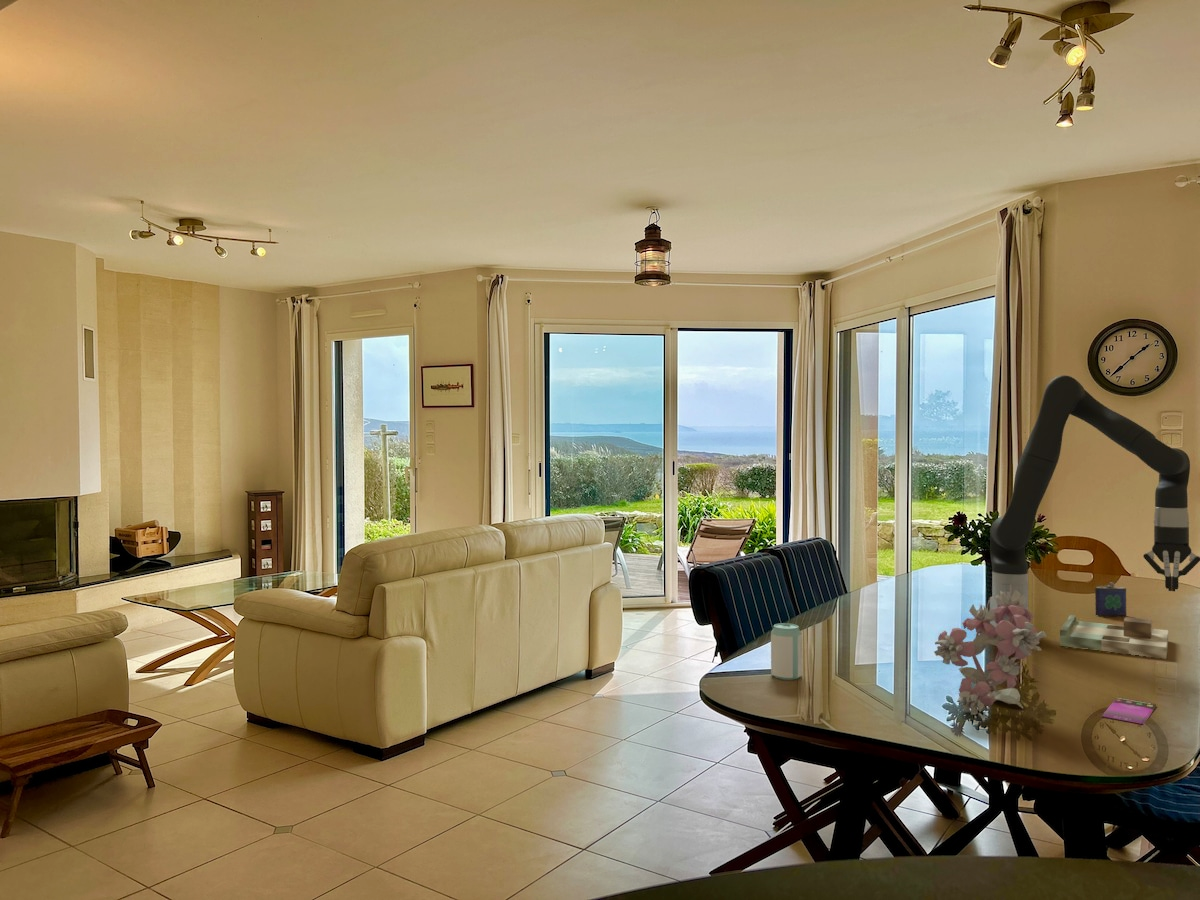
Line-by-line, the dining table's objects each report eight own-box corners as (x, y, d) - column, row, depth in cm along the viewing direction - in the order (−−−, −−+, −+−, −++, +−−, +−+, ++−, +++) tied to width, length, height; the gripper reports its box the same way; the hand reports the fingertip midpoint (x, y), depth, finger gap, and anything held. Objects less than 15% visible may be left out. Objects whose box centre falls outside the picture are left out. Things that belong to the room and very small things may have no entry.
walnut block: (1151, 634, 224) (1151, 619, 224) (1150, 638, 219) (1150, 623, 219) (1125, 631, 227) (1125, 617, 227) (1123, 635, 222) (1123, 620, 222)
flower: (906, 679, 188) (917, 589, 176) (1002, 667, 189) (1019, 576, 178) (949, 747, 170) (965, 651, 158) (1055, 733, 171) (1078, 636, 160)
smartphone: (1156, 708, 173) (1156, 703, 173) (1143, 727, 162) (1143, 722, 162) (1115, 701, 178) (1115, 697, 178) (1100, 719, 166) (1100, 714, 166)
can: (765, 674, 198) (765, 623, 198) (790, 671, 201) (790, 621, 201) (781, 682, 192) (781, 630, 192) (807, 678, 194) (807, 627, 194)
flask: (1123, 615, 263) (1123, 581, 263) (1129, 617, 260) (1129, 582, 260) (1093, 615, 264) (1093, 581, 264) (1098, 617, 261) (1098, 582, 261)
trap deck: (1168, 641, 229) (1168, 624, 228) (1166, 659, 210) (1166, 641, 210) (1070, 630, 242) (1070, 615, 242) (1060, 646, 223) (1060, 629, 223)
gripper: (1202, 524, 218) (1202, 591, 218) (1141, 522, 225) (1142, 586, 225) (1202, 527, 212) (1203, 595, 212) (1140, 524, 219) (1141, 590, 219)
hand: (1171, 590), depth 219 cm, fingers closed
